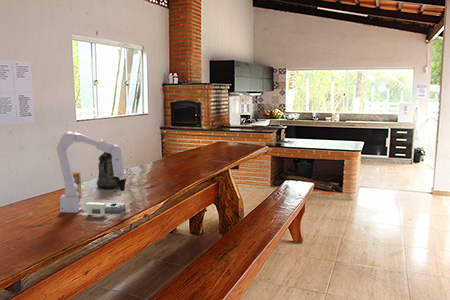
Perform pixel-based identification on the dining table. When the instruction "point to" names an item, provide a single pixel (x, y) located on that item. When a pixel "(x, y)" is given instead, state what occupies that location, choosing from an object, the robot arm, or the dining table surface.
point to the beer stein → (106, 173)
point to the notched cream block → (96, 207)
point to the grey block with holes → (112, 207)
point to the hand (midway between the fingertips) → (121, 189)
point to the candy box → (77, 181)
